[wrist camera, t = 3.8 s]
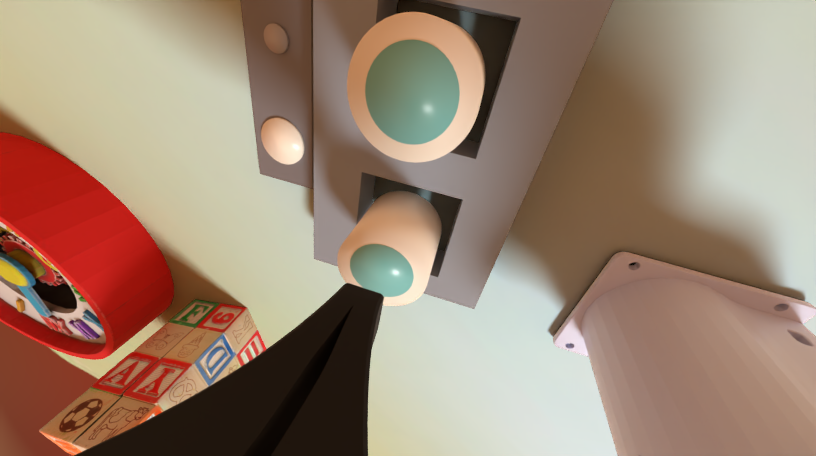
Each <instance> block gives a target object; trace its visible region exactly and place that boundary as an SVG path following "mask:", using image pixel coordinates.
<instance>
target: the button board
mask: <svg viewBox="0 0 816 456" xmlns="http://www.w3.org/2000/svg"><path fill="white" fill-rule="evenodd" d="M415 1H420V2H425V3H429V4H434V5H439V6H444V7H449V8H454V9H459V10H463V11H468V12H473V13H478V14H483V15H488V16H493V17H497V18H502V19H507V20H512V21H517V23H516V26H515V30H514V33H513V36H512V39H511V42H510V45H509V49H508V52H507V55H506V58H505V61H504V64H503V68H502V71H501V74H500V77H499V80H498V83H497V87H496V90H495V93H494V96H493V99H492V102H491V106H490V109H489V112H488V115H487V118H486V121H485V125H484V128H483V131H482V134H481V137H480V141H479V143H478V142H474V141H470V140H466V139H464V140H463V141H462V142H461V143H460V144H459V145H458V146H457V147H456V148H455V149H454V150H452V151H451V152H449V153H448V154H446V155H444V156H442V157H440V158H438V159H435V160H432V161H427V162H417V163H414V162H405V161H400V160H397V159H394V158H392V157H390V156H387V155H385V154H384V153H382V152H381V151H379V150H378V149H377V148H375V147H374V146H373V145H372V144H371V143H370V142H369V141H368V140H367V139H366V138H365V136H364V135H363V134H362V133H361V131H360V129H359V128H358V126H357V124H356V122H355V120H354V118H353V115H352V112H351V110H350V106H349V101H348V94H347V77H348V70H349V65H350V61H351V59H352V56H353V53H354V51H355V49H356V47H357V45H358V43H359V42H360V41H361V39H362V38H363V36H364V35H365V34H366V33H367V32H368V31H369V30H370V29H371V28H372V27H373V26H374V25H376V24H377V23H378V22H380V21H382V20H383V19H385V18H387V17H390V16H392V15H395V14H396V11H397V3H398V0H313V113H314V259H316V260H319V261H323V262H326V263H329V264H332V265H335V266H338V263H337V257H338V252H339V249H340V247H341V245H342V244H343V242H344V241H345V240H346V238H347V237H348V236H349V234H350V233H351V232H352V230H353V229H354V228H355V226H356V225H357V224H358V222H359V221H360V220H361V218H362V217H363V216H364V214H365V213H366V212H367V210H368V209H369V208H370V206H371V205H372V203H373V195H374V187H375V179H376V176H378V177H382V178H385V179H389V180H393V181H396V182H400V183H404V184H407V185H411V186H415V187H418V188H422V189H425V190H429V191H433V192H436V193H440V194H444V195H447V196H451V197H454V198H458V199H461V201H460V204H459V207H458V210H457V213H456V217H455V220H454V223H453V226H452V229H451V232H450V236H449V239H448V242H447V245H446V248H445V251H442V250H438V249H437V252H436V255H435V259H434V262H433V266H432V269H431V273H430V276H429V280H428V284H427V287H426V289H425V291H424V293H425V294H428V295H431V296H434V297H437V298H441V299H444V300H447V301H450V302H453V303H456V304H460V305H463V306H466V307H469V308H472V309H474V308H475V306H476V304H477V302H478V299H479V297H480V295H481V293H482V290H483V288H484V286H485V284H486V282H487V279H488V277H489V275H490V273H491V271H492V268H493V266H494V264H495V262H496V259H497V257H498V255H499V253H500V251H501V248H502V246H503V244H504V242H505V239H506V237H507V235H508V233H509V231H510V228H511V226H512V224H513V222H514V219H515V217H516V215H517V213H518V211H519V208H520V206H521V204H522V202H523V200H524V197H525V195H526V193H527V191H528V188H529V186H530V184H531V182H532V180H533V177H534V175H535V173H536V171H537V168H538V166H539V164H540V162H541V160H542V157H543V155H544V153H545V151H546V149H547V146H548V144H549V142H550V140H551V137H552V135H553V133H554V131H555V129H556V126H557V124H558V122H559V120H560V117H561V115H562V113H563V111H564V109H565V106H566V104H567V102H568V100H569V98H570V95H571V93H572V91H573V89H574V86H575V84H576V82H577V80H578V78H579V75H580V73H581V71H582V69H583V66H584V64H585V62H586V60H587V58H588V55H589V53H590V51H591V49H592V47H593V44H594V42H595V40H596V38H597V35H598V33H599V31H600V29H601V27H602V24H603V22H604V20H605V18H606V15H607V13H608V11H609V9H610V7H611V4H612V2H613V0H415Z"/></svg>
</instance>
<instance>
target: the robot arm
mask: <svg viewBox="0 0 816 456" xmlns="http://www.w3.org/2000/svg"><path fill="white" fill-rule="evenodd" d="M633 262H637V263H636V264H635V265H632V266H631V265H629V264H630V263H633ZM383 300H384V296H383V295H382V294H381V293H378V292H374V291H371V290H368V289H365V288H362V287H359V286H356V285H353V284H350V283H347V284H344V285H343V286H342V287H341V288H340V289H339V290H338V291H337V292H336V293H335V294H334V295H333V296H332V297H331V298H330V299H329V300H328V301H327V302H326V303H324V304H323V305H322V306H321V307H320V308H319V309H318V310H317V311H315V312H314V313H313V314H312V315H311V316H309V317H308V318H307V319H306V320H304V321H303V322H302V323H301V324H300V325H298V326H297V327H296V328H295V329H293V330H292V331H291V332H289V333H288V334H287V335H285V336H284V337H283V338H281V339H280V340H279V341H277V342H276V343H275V344H273V345H272V346H271V347H269V348H268V349H267V350H265V351H264V352H262V353H261V354H259V355H258V356H256V357H255V358H254V359H252V360H251V361H249V362H247V363H246V364H244V365H243V366H241V367H240V368H238V369H237V370H235V371H234V372H232V373H230V374H229V375H227V376H225V377H224V378H222V379H220V380H219V381H217V382H215V383H214V384H212V385H211V386H209V387H207V388H205V389H204V390H202V391H200V392H199V393H197V394H195V395H193V396H192V397H190V398H188V399H186V400H184V401H182V402H180V403H179V404H177V405H175V406H173V407H171V408H169V409H167V410H165V411H163V412H162V413H160V414H158V415H156V416H154V417H152V418H150V419H148V420H147V421H145V422H143V423H141V424H139V425H137V426H135V427H133V428H131V429H129V430H127V431H124V432H122V433H120V434H118V435H116V436H114V437H112V438H110V439H108V440H105V441H103V442H101V443H99V444H97V445H95V446H93V447H91V448H89V449H87V450H84V451H82V452H80V453H78V454H76V455H74V456H368V427H367V421H368V385H369V369H370V358H371V350H372V345H373V342H374V339H375V336H376V333H377V330H378V325H379V320H380V315H381V310H382V305H383ZM778 304H779V305H778ZM815 315H816V308H815V307H814V306H813V305H811V304H810V303H808V302H805V301H802V300H798V299H795V298H791V297H787V296H784V295H780V294H777V293H773V292H769V291H766V290H762V289H759V288H755V287H751V286H748V285H744V284H741V283H737V282H733V281H730V280H726V279H723V278H719V277H715V276H712V275H708V274H704V273H701V272H697V271H694V270H690V269H686V268H683V267H679V266H676V265H672V264H668V263H665V262H661V261H658V260H654V259H650V258H647V257H643V256H640V255H636V254H632V253H629V252H619V253H616V254H615V255H614V256H612V258H611V259H610V260H609V262H608V263H607V265H606V266H605V267H604V269H603V270H602V271H601V273H600V274H599V275H598V277H597V278H596V280H595V281H594V282H593V284H592V285H591V286H590V288H589V289H588V290H587V292H586V293H585V295H584V296H583V297H582V299H581V300H580V301H579V303H578V304H577V305H576V307H575V308H574V310H573V311H572V312H571V314H570V315H569V316H568V318H567V319H566V320H565V322H564V323H563V325H562V326H561V327H560V329H559V330H558V331H557V333H556V334H555V335H554V337H553V342H554V345H555V346H557V347H559V348H562V349H565V350H568V351H572V352H575V353H578V354H581V355H584V356H587V357H589V359H590V362H591V366H592V369H593V372H594V376H595V379H596V383H597V386H598V389H599V393H600V396H601V400H602V403H603V407H604V410H605V413H606V417H607V420H608V424H609V427H610V430H611V434H612V437H613V441H614V444H615V448H616V451H617V454H618V456H816V336H815V335H814V334H813V333H812V332H810V331H809V330H808V329H807V328H806V327H805V326H804V325H803V324H804V323H805V322H807V321H808V320H810V319H811V318H812V317H814V316H815ZM569 343H570V344H569Z"/></svg>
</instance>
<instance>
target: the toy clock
mask: <svg viewBox="0 0 816 456" xmlns="http://www.w3.org/2000/svg"><path fill="white" fill-rule="evenodd" d="M173 296H174V284H173V280H172V276H171V273H170V270H169V268H168V265H167V263H166V261H165V259H164V256H163V255H162V253H161V251H160V250H159V248H158V247H157V245H156V243H155V242H154V240H153V239H152V237H151V236H150V235H149V233H148V232H147V231H146V229H145V228H144V227H143V225H142V224H141V223H140V222H139V221H138V219H137V218H136V217H135V216H134V215H133V214H132V213H131V212H130V211H129V209H128V208H127V207H126V206H125V205H124V204H123V203H122V202H121V201H120V200H119V199H118V198H117V197H115V196H114V195H113V194H112V193H111V192H110V191H109V190H108V189H107V188H106V187H105V186H104V185H102V184H101V183H100V182H99V181H97V180H96V179H95V178H94V177H92V176H91V175H90V174H89V173H87V172H86V171H85V170H83V169H82V168H80V167H79V166H77V165H76V164H74V163H73V162H71V161H70V160H68V159H67V158H65V157H64V156H62V155H61V154H59V153H57V152H55V151H53V150H51V149H49V148H47V147H46V146H44V145H42V144H40V143H37V142H35V141H32V140H29V139H27V138H24V137H22V136H18V135H13V134H9V133H4V132H0V321H1V322H3V323H4V324H6V325H8V326H9V327H11V328H13V329H15V330H17V331H18V332H20V333H22V334H23V335H25V336H27V337H29V338H31V339H33V340H35V341H37V342H39V343H41V344H43V345H46V346H48V347H50V348H52V349H55V350H57V351H60V352H63V353H66V354H69V355H72V356H76V357H80V358H85V359H93V360H95V359H103V358H105V357H107V356H109V355H111V354H112V353H113V352H114V351H116V350H117V349H118V348H119V347H121V346H122V345H123V344H124V343H125V342H127V341H128V340H129V339H130V338H132V337H133V336H134V335H135V334H137V333H138V332H139V331H140V330H142V329H143V328H144V327H145V326H146V325H148V324H149V323H150V322H151V321H153V320H154V319H155V318H156V317H158V316H159V315H160V314H161V313H163V312H164V311H165V310H166V309H167V308H168V307H169V306H170V304H171V303H172V299H173Z"/></svg>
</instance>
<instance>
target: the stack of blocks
mask: <svg viewBox="0 0 816 456" xmlns="http://www.w3.org/2000/svg"><path fill="white" fill-rule="evenodd" d="M265 350H266V347H265V345H264V343H263V341H262V339H261V336H260V334H259V332H258V330H257V327H256V325H255V323H254V321H253V319H252V317H251V314H250V312H249V310H248V308H245V307H239V306H233V305H227V304H219V303H213V302H207V301H202V300H196V299H195V300H194V301H192V302H191V303H190V304H189V305H187V306H186V307H185V308H184V309H183V310H181V311H180V312H179V313H178V314H177V315H175V316H174V317H173V318H172V319H171V320H170V321H169V322H168V323H167V324H166V325H164V326H163V327H162V328H161V329H159V330H158V331H157V332H156V333H155V334H153V335H152V336H151V337H150V338H149V339H147V340H146V341H145V342H144V343H143V344H141V345H140V346H139V347H138V348H137V349H136V350H135V351H134V352H132V353H130V354H129V355H127V356H126V357H125V358H124V359H123V360H121V361H120V362H119V363H118V364H117V365H116V366H115V367H113V368H112V369H111V370H109V371H108V372H107V373H106V374H105V375H104V376H102V377H101V378H100V379H99V380H98V381H96V382H95V383H94V384H93V385H92V386H91V387H90V388H89V390H87V391H86V392H85V393H84V394H82V395H81V396H80V397H79V398H78V399H76V400H75V401H74V402H73V403H71V404H70V405H69V406H68V407H67V408H65V409H64V410H63V411H62V412H61V413H59V414H58V415H57V416H56V417H55V418H53V419H52V420H51V421H50V422H49V423H47V424H46V425H45V426H44V427H43V428H41V429H40V433H42V434H43V435H45V436H46V437H47V438H48V439H50V440H51V441H52V442H54V443H55V444H56V445H58V446H59V447H60V448H62V449H63V450H64V451H65V452H67V453H69V456H74V455H76V454H78V453H80V452H82V451H84V450H87V449H89V448H91V447H93V446H95V445H97V444H99V443H101V442H103V441H105V440H108V439H110V438H112V437H114V436H116V435H118V434H120V433H122V432H124V431H127V430H129V429H131V428H133V427H135V426H137V425H139V424H141V423H143V422H145V421H147V420H148V419H150V418H152V417H154V416H156V415H158V414H160V413H162V412H163V411H165V410H167V409H169V408H171V407H173V406H175V405H177V404H179V403H180V402H182V401H184V400H186V399H188V398H190V397H192V396H193V395H195V394H197V393H199V392H200V391H202V390H204V389H205V388H207V387H209V386H211V385H212V384H214V383H215V382H217V381H219V380H220V379H222V378H224V377H225V376H227V375H229V374H230V373H232V372H234V371H235V370H237V369H238V368H240V367H241V366H243V365H244V364H246V363H247V362H249V361H251V360H252V359H254V358H255V357H256V356H258V355H259V354H261V353H262V352H264V351H265Z"/></svg>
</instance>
